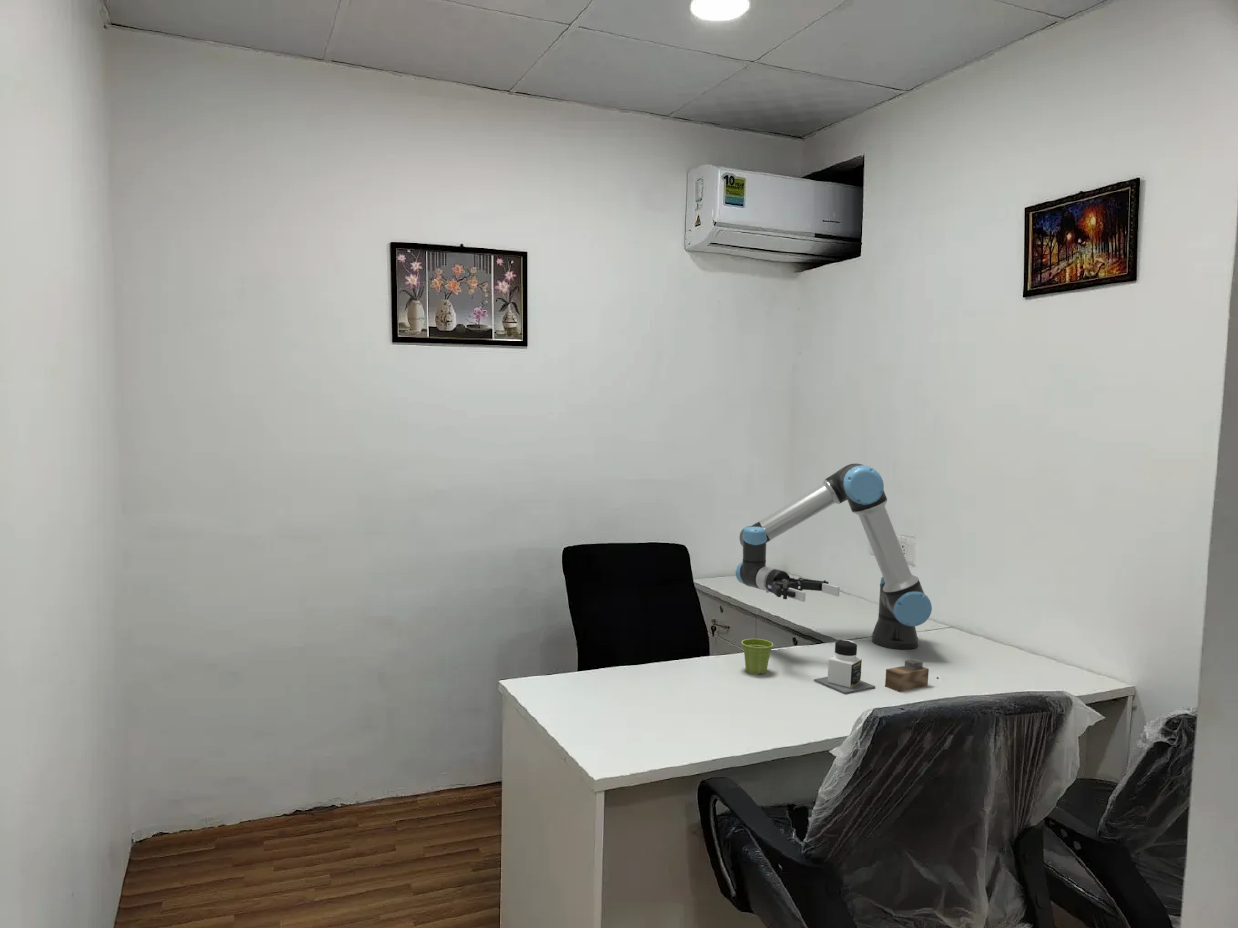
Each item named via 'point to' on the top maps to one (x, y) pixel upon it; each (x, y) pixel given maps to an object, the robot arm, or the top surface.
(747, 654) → the plant pot
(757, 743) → the top surface
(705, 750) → the top surface
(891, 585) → the robot arm
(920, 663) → the plane body block
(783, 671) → the top surface
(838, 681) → the medicine bottle
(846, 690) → the mat
